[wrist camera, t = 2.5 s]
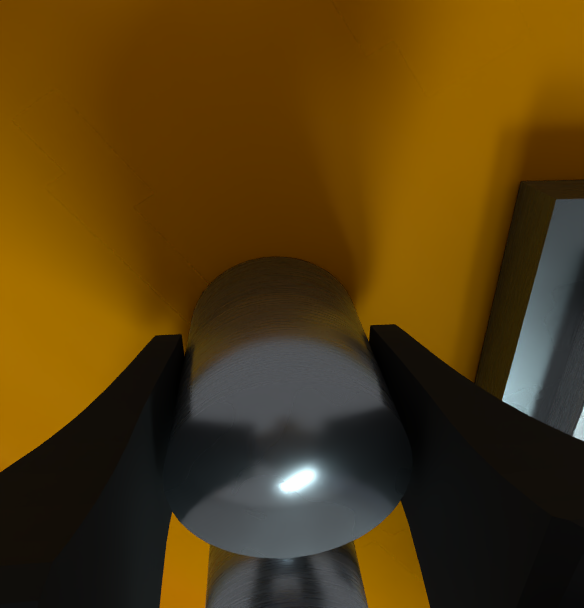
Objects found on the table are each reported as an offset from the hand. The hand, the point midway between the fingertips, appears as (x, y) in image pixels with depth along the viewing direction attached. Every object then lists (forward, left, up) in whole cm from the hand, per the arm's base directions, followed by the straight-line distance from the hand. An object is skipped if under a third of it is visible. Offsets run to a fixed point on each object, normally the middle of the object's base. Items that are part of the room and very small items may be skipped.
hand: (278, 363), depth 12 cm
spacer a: (0, 0, -1) cm, 1 cm away
